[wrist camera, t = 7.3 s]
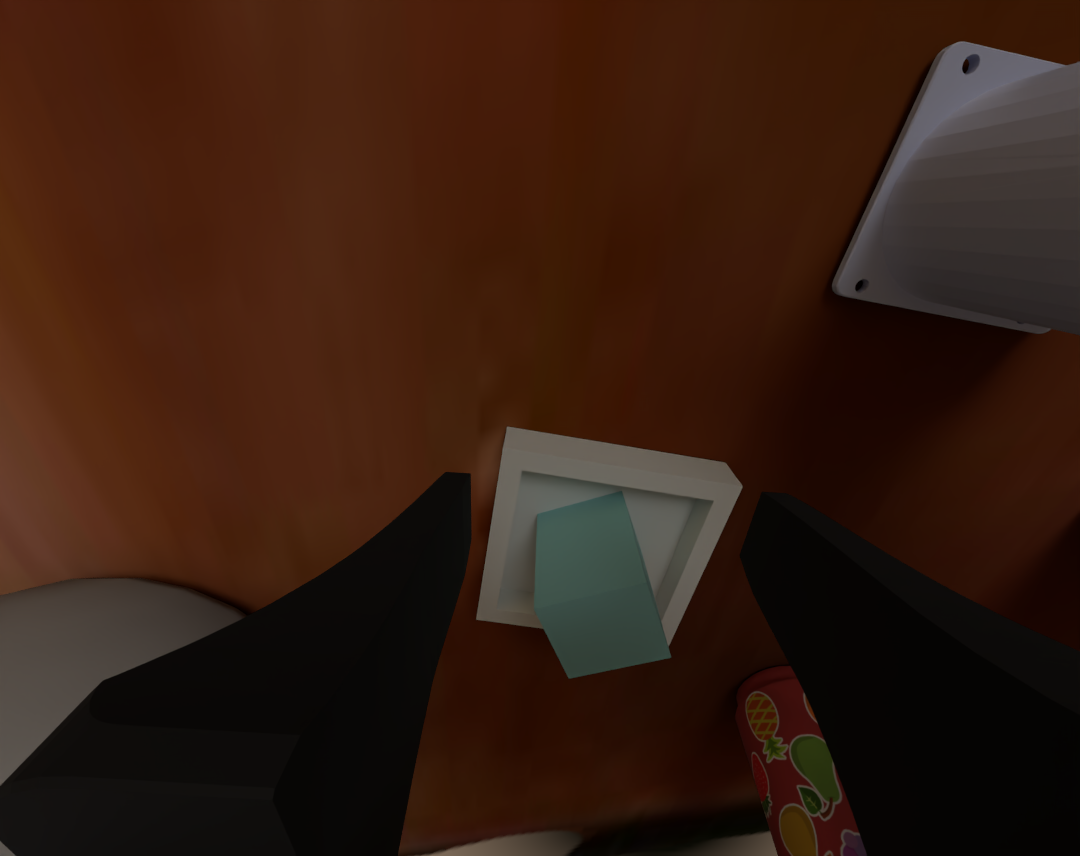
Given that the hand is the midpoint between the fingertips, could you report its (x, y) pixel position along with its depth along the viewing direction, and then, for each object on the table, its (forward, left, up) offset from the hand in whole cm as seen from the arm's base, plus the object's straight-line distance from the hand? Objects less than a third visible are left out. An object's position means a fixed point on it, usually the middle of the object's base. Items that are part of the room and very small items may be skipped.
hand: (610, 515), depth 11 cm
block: (-2, +8, -9) cm, 13 cm away
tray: (-2, +8, -10) cm, 13 cm away
